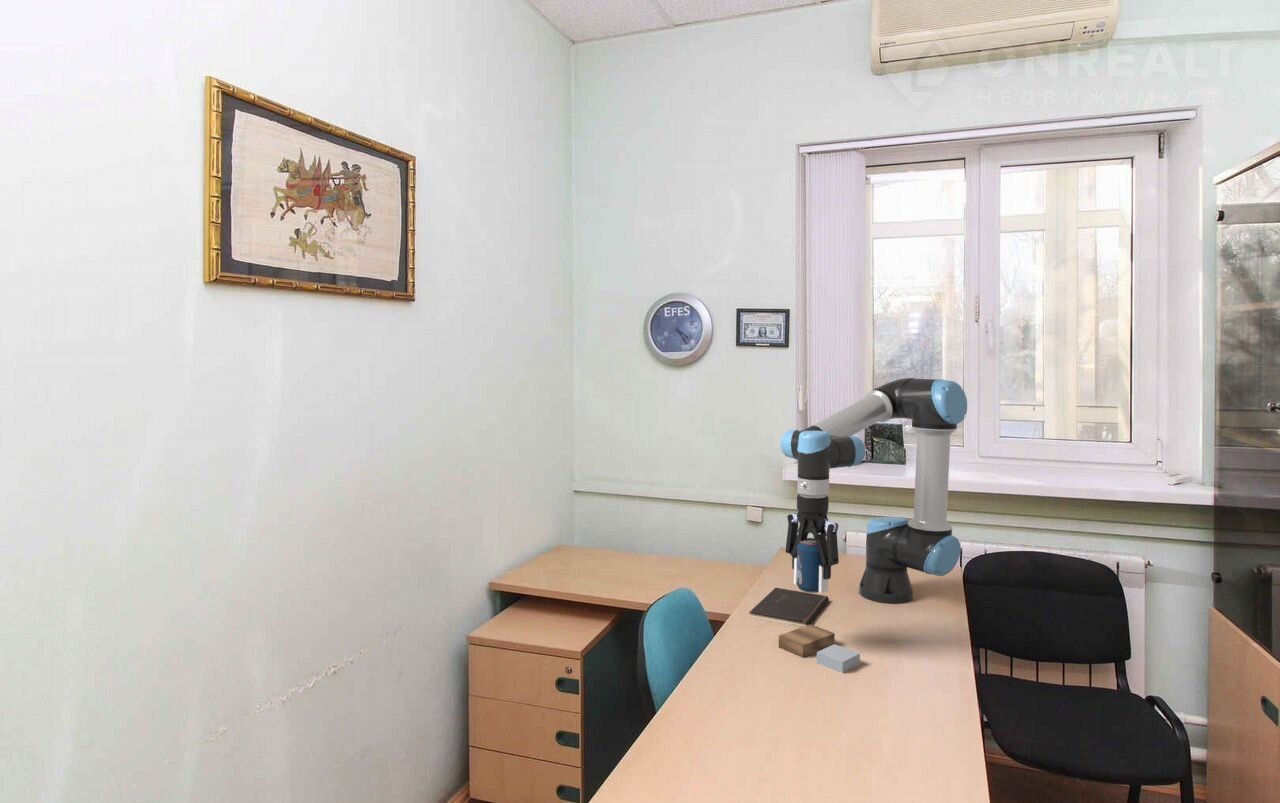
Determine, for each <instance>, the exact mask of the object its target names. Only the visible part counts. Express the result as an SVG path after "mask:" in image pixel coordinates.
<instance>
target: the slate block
mask: <svg viewBox="0 0 1280 803" xmlns="http://www.w3.org/2000/svg"><path fill="white" fill-rule="evenodd" d="M860 653H861V652H857V651H854V650H852V649H849V648H845V647H843V646H840V645H837V644H835V643H834V645H832V646H829V647H827V648H825V649H823V650H820V651H818V652H816V664H817V665H821V666H823V667H825V668H828V669H830V670H832V671H836V672H838V673H841V674H844V673H846V672H847V671H849V670H851V669H853V668H856V667H857V666H860V664H861V663H860V662H861V654H860Z"/></svg>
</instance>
